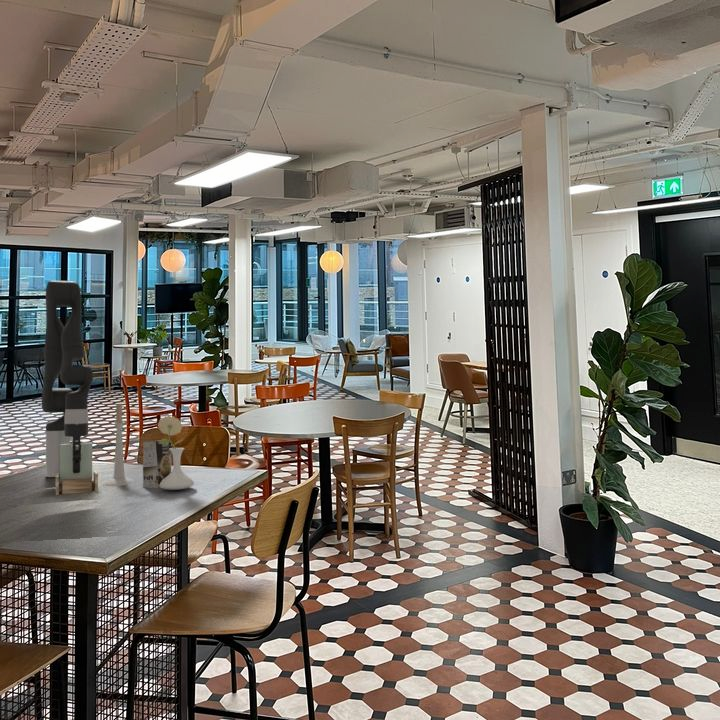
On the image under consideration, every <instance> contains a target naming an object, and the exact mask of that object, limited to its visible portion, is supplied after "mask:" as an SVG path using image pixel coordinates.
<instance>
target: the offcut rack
mask: <svg viewBox="0 0 720 720" xmlns="http://www.w3.org/2000/svg"><path fill="white" fill-rule="evenodd" d="M92 491H94V492H99V473H98V472H97V470H92ZM60 493H61V494H62V485H60V477H59V475H58V473H56V477H55V495H56V496H57V495H58V496H59V494H60Z"/></svg>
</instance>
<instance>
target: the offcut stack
mask: <svg viewBox="0 0 720 720" xmlns="http://www.w3.org/2000/svg"><path fill="white" fill-rule="evenodd" d="M92 481H93V477H92V478H77V479H63V480H62V492H61V494H62V495H65V494H66V495H67V494H77V493H78V494H79V493H91V492H92V491H93V490H92Z"/></svg>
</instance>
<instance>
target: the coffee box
mask: <svg viewBox="0 0 720 720" xmlns="http://www.w3.org/2000/svg"><path fill="white" fill-rule="evenodd" d="M160 440H161V439H159V440H148V441H143V443H142V446H143V447H142V448H143V450H142V454H143V456H142V488H149V489H150V488H151V489H155V488H156V489H159V488H161V487H160V486H159V485H160V483H161V482H162V480H163V479H165V478H166V477H167V476H168V475H169V474H170V473H171V472H172V453H171V451H170V450H169V449H170V448H172V444H171V442H172V441H171V442H169V443H168V444H167V445H163V444H158V443H159V441H160Z"/></svg>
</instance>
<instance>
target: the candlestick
mask: <svg viewBox="0 0 720 720" xmlns="http://www.w3.org/2000/svg"><path fill="white" fill-rule="evenodd" d="M115 409H116V410H115V411H116V412H115V416H116V417H115V418H116V419H115V420H116V421H113V423H114V425H115V428H116V432H115V433H116V434H115V447H114V448H115V449H114V450H115V451H114V453H115V454H114V469H113V470H114V471H113V476H112V477H113V478H110V479H107V480H104V481H103V482H101V485H102V486H104V487H120V486H126V485H130V484H133V483H135V482H136V480H135V479H133V478H130V477H126V476H125V463H124V461H125V459H124V445H123V431H122V428H123V427H124V423H125V421H123V404H122V403H116V404H115Z"/></svg>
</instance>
